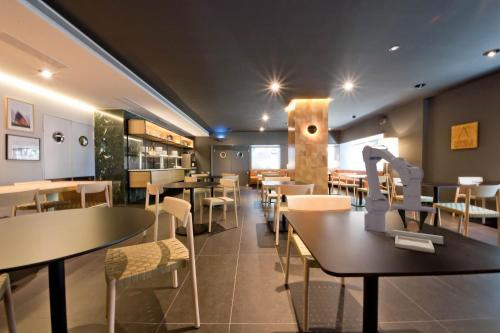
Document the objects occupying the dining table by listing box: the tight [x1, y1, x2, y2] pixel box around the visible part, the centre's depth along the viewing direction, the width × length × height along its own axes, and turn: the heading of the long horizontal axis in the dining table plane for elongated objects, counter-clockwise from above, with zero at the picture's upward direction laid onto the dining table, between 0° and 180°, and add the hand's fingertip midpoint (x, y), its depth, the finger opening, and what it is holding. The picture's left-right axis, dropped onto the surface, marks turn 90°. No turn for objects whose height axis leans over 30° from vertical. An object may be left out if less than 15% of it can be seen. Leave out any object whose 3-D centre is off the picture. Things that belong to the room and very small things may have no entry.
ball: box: [405, 220, 420, 233], centre depth 85 cm, size 4×4×4 cm
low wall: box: [390, 229, 444, 245], centre depth 91 cm, size 18×1×3 cm, turn 54°
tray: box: [394, 235, 435, 254], centre depth 85 cm, size 12×12×1 cm
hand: (412, 228), depth 85 cm, fingers closed on ball, 4 cm apart
